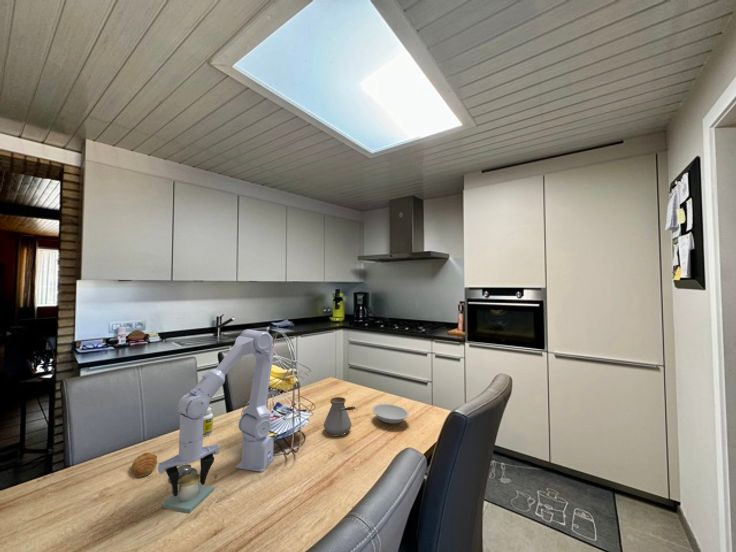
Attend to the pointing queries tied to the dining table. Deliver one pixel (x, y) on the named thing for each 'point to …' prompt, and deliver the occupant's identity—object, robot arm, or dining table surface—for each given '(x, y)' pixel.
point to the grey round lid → (185, 471)
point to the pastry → (144, 464)
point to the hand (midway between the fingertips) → (189, 488)
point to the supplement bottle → (207, 422)
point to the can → (189, 487)
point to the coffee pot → (338, 417)
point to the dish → (390, 413)
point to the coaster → (189, 505)
